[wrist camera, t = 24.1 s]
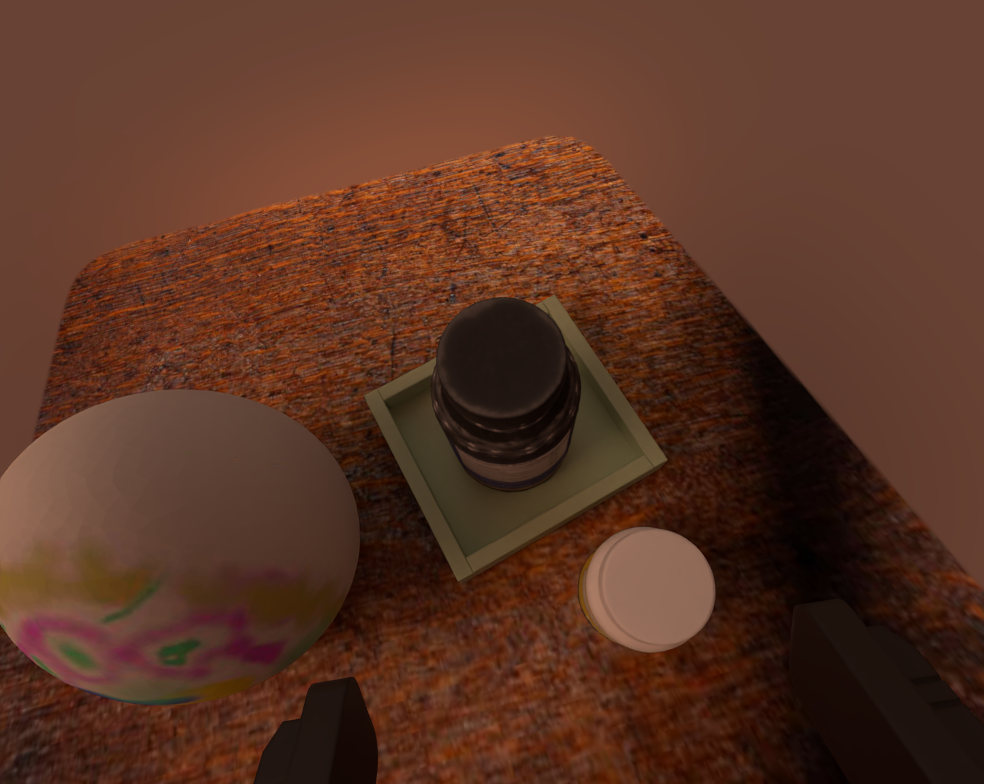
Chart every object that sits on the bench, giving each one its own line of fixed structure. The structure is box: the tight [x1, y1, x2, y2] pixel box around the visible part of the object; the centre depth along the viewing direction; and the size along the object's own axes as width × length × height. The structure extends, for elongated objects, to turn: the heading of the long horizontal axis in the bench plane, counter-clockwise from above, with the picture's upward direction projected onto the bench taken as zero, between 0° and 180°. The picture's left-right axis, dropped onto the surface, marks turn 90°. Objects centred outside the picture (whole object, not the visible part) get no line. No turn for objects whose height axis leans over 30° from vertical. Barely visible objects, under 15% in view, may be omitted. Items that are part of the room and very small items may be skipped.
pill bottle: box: [430, 297, 582, 492], centre depth 26 cm, size 6×6×11 cm
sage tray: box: [364, 295, 667, 583], centre depth 31 cm, size 12×11×2 cm
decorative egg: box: [0, 389, 360, 706], centre depth 24 cm, size 12×12×15 cm
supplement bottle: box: [578, 527, 715, 652], centre depth 25 cm, size 5×5×8 cm
